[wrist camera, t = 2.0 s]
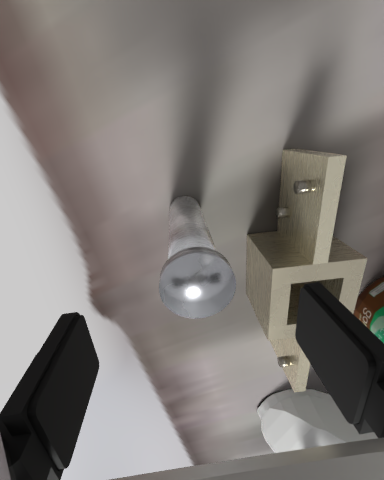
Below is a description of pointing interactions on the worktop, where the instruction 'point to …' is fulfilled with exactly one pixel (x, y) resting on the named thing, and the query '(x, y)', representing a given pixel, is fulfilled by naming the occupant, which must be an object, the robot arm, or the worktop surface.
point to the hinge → (301, 254)
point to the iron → (305, 421)
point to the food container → (372, 308)
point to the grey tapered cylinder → (194, 265)
